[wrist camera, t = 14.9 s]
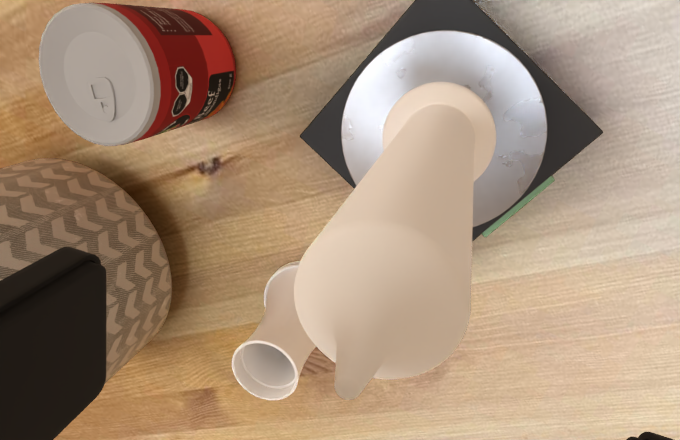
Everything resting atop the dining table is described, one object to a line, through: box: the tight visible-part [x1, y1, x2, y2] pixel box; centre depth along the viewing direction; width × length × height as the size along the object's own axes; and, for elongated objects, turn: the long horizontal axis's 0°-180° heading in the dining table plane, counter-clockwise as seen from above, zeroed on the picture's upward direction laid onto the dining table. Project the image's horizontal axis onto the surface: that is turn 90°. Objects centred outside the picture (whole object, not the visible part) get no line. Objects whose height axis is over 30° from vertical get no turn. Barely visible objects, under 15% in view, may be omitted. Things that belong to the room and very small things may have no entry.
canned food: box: [39, 3, 236, 146], centre depth 33 cm, size 8×8×11 cm
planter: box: [0, 158, 172, 383], centre depth 39 cm, size 19×19×18 cm
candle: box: [294, 82, 496, 400], centre depth 21 cm, size 7×7×25 cm
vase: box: [232, 261, 316, 400], centre depth 39 cm, size 8×8×10 cm
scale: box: [300, 0, 603, 241], centre depth 34 cm, size 14×14×4 cm
